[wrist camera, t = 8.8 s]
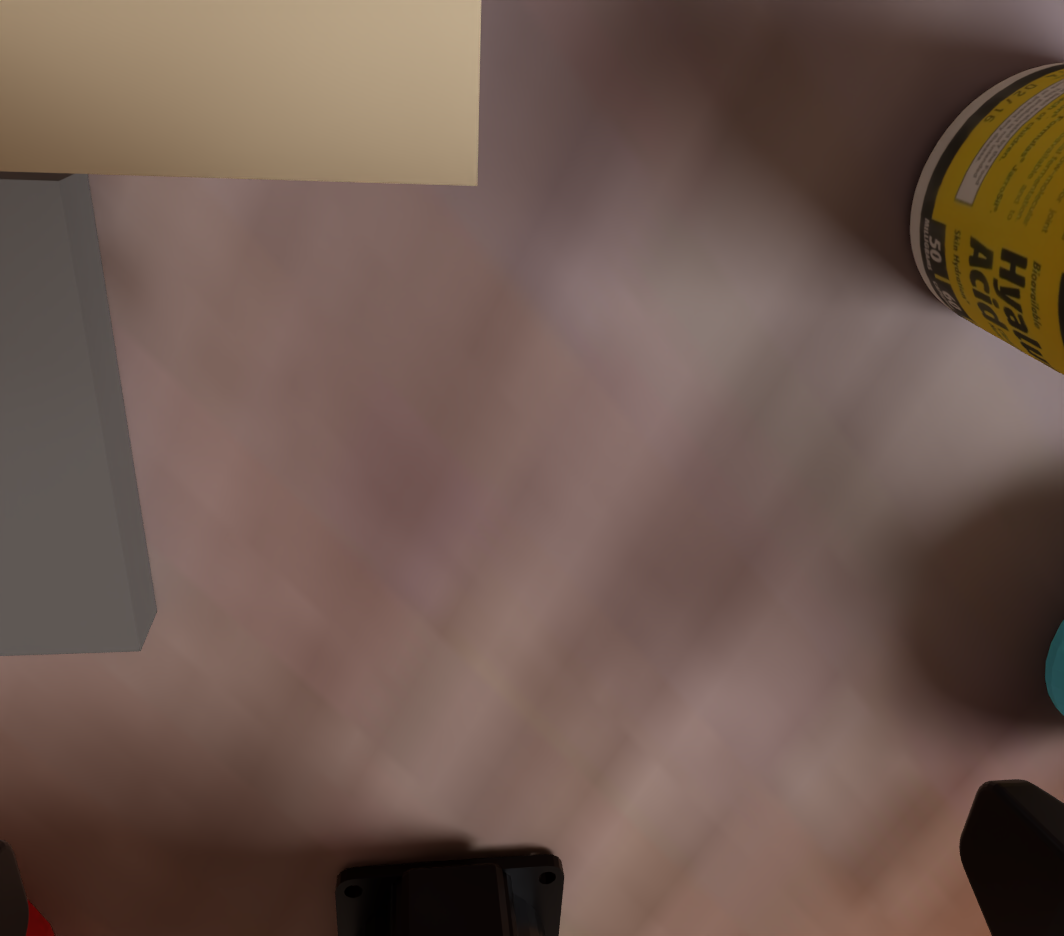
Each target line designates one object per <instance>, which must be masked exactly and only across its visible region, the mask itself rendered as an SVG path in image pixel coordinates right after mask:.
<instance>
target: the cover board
mask: <svg viewBox="0 0 1064 936" xmlns="http://www.w3.org/2000/svg"><path fill="white" fill-rule="evenodd" d="M480 34H481V0H0V171H8V172H40V173H73V174H106V175H138V176H171V177H204V178H236V179H269V180H302V181H334V182H367V183H400V184H432V185H465V186H477V173H478V127H479V80H480Z"/></svg>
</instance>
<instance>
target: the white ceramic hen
mask: <svg viewBox="0 0 1064 936" xmlns="http://www.w3.org/2000/svg"><path fill="white" fill-rule="evenodd" d="M27 900H28V899H27ZM28 906H29V921H28V928H27V933H26V936H55V935H54V933H53V930H52V928H51V925H50V924H49V923H48V921H47V920H46V919H45V918H44V917H43V916H42V915H41V914H40V913H39V911H38V910H37V909H36V908H35V907H34V906H33V905H32V904H31V903H30V901H29V900H28Z"/></svg>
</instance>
